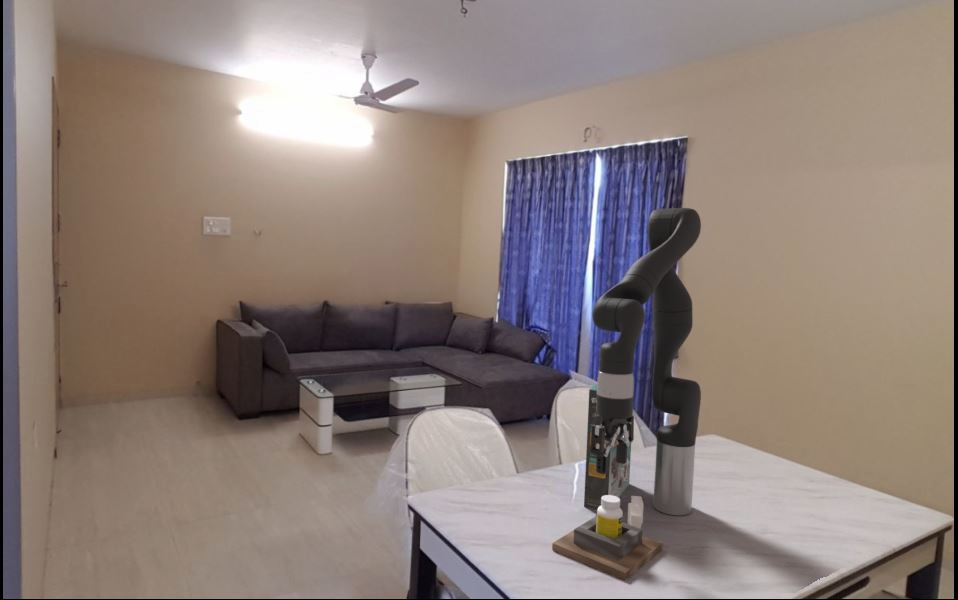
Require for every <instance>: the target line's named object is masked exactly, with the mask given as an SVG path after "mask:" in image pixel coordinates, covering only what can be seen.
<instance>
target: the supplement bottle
mask: <svg viewBox="0 0 958 600" xmlns="http://www.w3.org/2000/svg"><path fill="white" fill-rule="evenodd" d="M620 506H621V498H620V497H619V498H618V497H616V496H613V495H604V496H602V497H601V506H599V507H598V509H597V510H596V516H597V524H596V533H598V534H601V535H603V536H606V537H609V538H611V539H614V540H616V539H617V538H618V537H620V536H621V535H622V522H623V520H624V519H623V510H622V509H621V507H620Z"/></svg>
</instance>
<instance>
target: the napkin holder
mask: <svg viewBox="0 0 958 600" xmlns="http://www.w3.org/2000/svg"><path fill="white" fill-rule="evenodd" d="M630 497H631V499H630V502H628V503H627V504H628V505H627V523H626V524H628V525H631V526H634V527H637V528H640V529H642V525H643V524H644V522H643V520H644V501H643V498H642V496H640V495H631V496H630Z"/></svg>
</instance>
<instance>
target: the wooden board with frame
mask: <svg viewBox="0 0 958 600" xmlns="http://www.w3.org/2000/svg"><path fill="white" fill-rule="evenodd" d="M596 524H597V515H595V516H594V517H592V518H591V519H588V520H587V521H586V522H583V524H581V525H579V526H577V527H576V528H574V529H573V530H572V531H570V532H568V533H567V534H565V535H563V536H562V537H560V538H559V539H556V540H555V541H554V542H552V543H551V545H552V547H551V548H552V551H554V552H557V553H559V554H561V555H564V556H566V557H568V558H571V559H573V560H576V561H578V562H581V563H583V564H586V565H587V566H590V567H593V568H595V569H596V570H599V571H602V572H604V573H607V574H609V575H612V576H614V577H616V578H618V579H621V580H623V581H626V580H627V579H628V578H630V577H631V576H632V575H634V573H636V572H637V571H638V570H640V568H642V567H643V566H645V564H646V563H648V562H649V561H651V560H652V559H653V558H654V557H655V556H657V555H658V554H659V553H660V552H661V551H663V546H664V545H663V542H661V541H658V540H655V539H653V538H650V537H646V536H644V535H643V533H644V528H643V529H642V528H641V529H640V528H637V527H634V526H631V525H628V523H625V522H623V521H622V535H621V536H620V537H618V538H617V539H616V540H614V539H611V538H609V537H606V536H603V535H601V534H598V533H596Z"/></svg>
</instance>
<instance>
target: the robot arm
mask: <svg viewBox="0 0 958 600" xmlns="http://www.w3.org/2000/svg"><path fill="white" fill-rule="evenodd" d="M701 223H702V222H701V217H700V214H699V213H698V211H697V210H695V209H694V208H691V207H690V208H688V207H675V208H674V207H672V208H671V207H669V208H667V207H666V208H657V209H654V210H653V211H651V213H650V216H649V218H648V223H647V224H648V225H647V238H648V248H649V252H647V253H646V254H644V255H642V256H641V257H640V258H638V259H636V261H635V262H634V263H633V264H632V265H631V266H630V268H629V269H628V270H627V272H626V273H625V275H624V276H623V277H622V279H621V280H620V282H618V283H617V284H615V285H613V286H612V287H611V288H610V289H609V290H607V291H606V292H605V293H603V295H601V296H600V297H599V299H597V300H596V302H595V304H594V307H593V310H592V315H591V317H592V320H593V321H592V322H593V324H594V325H595V327H596V328H598V329H599V330H602V331H606V332H615V333H616V332H617V333H620V335H619V337H618V339H617V341H609V342H605V343H603V344H601V346H600V349H599V357H598V359H599V360H598V363H599V364H598V374H597V382H596V385H597V400H596V412H597V414H598V415H600V416H601V418H602V419H601V424H600V425H599V426H598V425H593V426H592V435H591V449H590V452H591V453H592V454H596V456H597V461H596V471H597V472H598V473H601V474H606V473H607V464H608V453H609V450H610V448H612V447H613V446H614V443H615V441H616V442H617V444H619V445H617V450H616V461H617V462H618V463H621V464H625V463H626V462H627V446H629V444H630V442H631V443H633V442H634V437H635V435H634V432H635V431H634V429H635V417H634V416H635V415H634V399H633V391H634V392H635V380H633V378H634V363H635V362H634V361H635V357H634V356H635V351H636V349H637V348H636V347H637V345H638V341H639V338H640V334H641V331H642V328H643V326H644V324H645V316H646V315H645V309H644V308H643V307H644V306H643V305H644V304H646V303H647V302H648V301H649V300H650V298H651V296H652V323H653V325H652V327H653V370H652V384H651V385H652V386H651V387H652V388H651V389H652V390H651V398H652V404H653V406H654V408H655V410H656V411H658V412H661V413H665V414H670V415H673V416H678V422H677V423H675V424H668V425H663V426H661V427H660V426H659V428H658V429H657V432H656V445H655V446H656V448H655V470H654V485H653V502H652V503H653V504H652V505H653V508H654V509H655V510H656V511H659V512H660V513H662V514H666V515H672V516H687V515H690V514H691V512H692V508H693V507H692V506H693V505H692V504H693V490H694V488H693V487H694V471H695V457H696V456H695V454H696V438H697V434H698V428H699V427H698V426H699V418H700V409H701V400H702V399H701V398H702V390H701V387H700V384H699V383H698V382H697V381H696V380H692V379H686V378H680V377H674V376H673V374H672V373H673V372H672V371H673V362H674V359H675V357H676V355H677V353H678V352H679V350H680V348H682V346H683V344H684V343H685V341H686V340H687V338H688V337H689V335H690V333H691V332H692V329H693V318H694V317H693V301H692V298H691V295H690V293H689V291H688V289H687V288H686V286H685V285H684V283H683V282H682V280H681V278H680V276H678V274H677V273H676V271H675V268H674V266H675V265H676V264H677V263H678V262H679V261H680V260H681V259H682V258H683V257H684V255H686V254H687V252H688V251H689V250H690V249H691V248H693V246H694V245H695V244H696V243H697V241H698V239H699V236H700V234H701V228H702V224H701ZM632 413H633V415H632ZM627 431H629V434H628V432H627ZM605 440H606V441H605ZM596 443H598V444H597V446H596ZM604 446H606V447H605V450H604ZM595 447H596V448H595Z"/></svg>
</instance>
